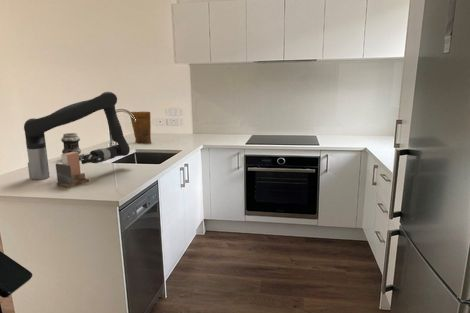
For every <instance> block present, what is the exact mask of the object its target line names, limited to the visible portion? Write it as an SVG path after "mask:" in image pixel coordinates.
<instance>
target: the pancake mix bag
mask: <svg viewBox="0 0 470 313" xmlns="http://www.w3.org/2000/svg"><path fill="white" fill-rule="evenodd" d="M130 113H132V114H133V115H134V117H135V119H136V124H135V122H134V119H133V118H132V117H131V116H130V115H129V117H130V122H131V125H132V130H133V134H134V139H135V140H134V142H135V144H145V145H146V144H147V145H149V144H152V139H151V134H152V133H151V129H152V128H151V127H152V126H151V124H152V123H151V122H152V121H151V112H150V111H130Z"/></svg>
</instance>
